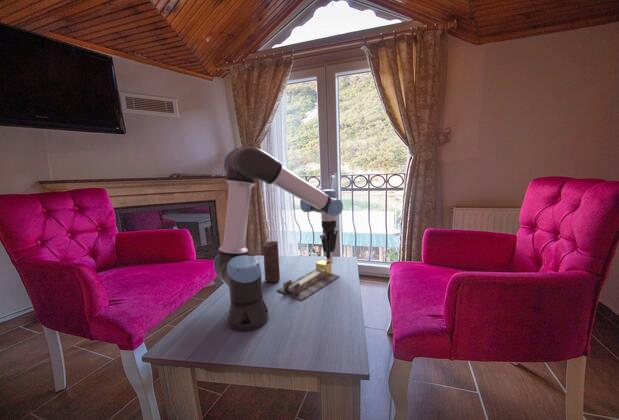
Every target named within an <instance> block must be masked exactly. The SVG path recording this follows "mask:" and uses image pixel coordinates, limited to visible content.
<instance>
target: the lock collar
mask: <svg viewBox="0 0 619 420" xmlns="http://www.w3.org/2000/svg"><path fill="white" fill-rule="evenodd" d="M332 267H333V266H332V264H331V262H328V261H327V260H323V259H321V260H318V261H316V262H315V269H316V271H320V272H321V273H322V272H324V277H327V276H329V275H331V274H333V271H332V270H333V269H332Z"/></svg>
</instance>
